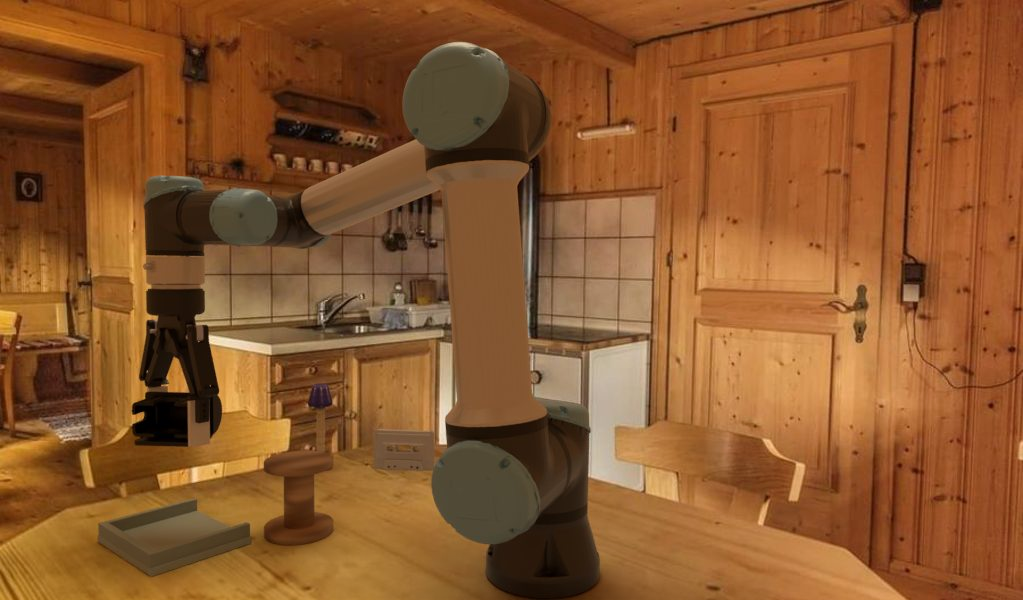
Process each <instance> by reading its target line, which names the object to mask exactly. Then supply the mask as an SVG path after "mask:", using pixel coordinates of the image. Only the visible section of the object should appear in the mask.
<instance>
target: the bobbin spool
mask: <svg viewBox="0 0 1023 600" xmlns="http://www.w3.org/2000/svg"><path fill="white" fill-rule="evenodd" d="M333 466H334V456H333V455H332V454H330V453H329V452H326V451H325V452H320V451H317V450H294V451H287V452H282V453H278V454H277V453H276V454H274V455H271V456H269V457H267V458H266V459H265V460H264V461H263V471H264V472H265V473H266V474H267V475H268V474H269V475H271V476H276V477H283V514H281V515H277V516H275V517H274V518H271V519H269V520H268V521H267V522H265V524H264V526H263V537H264V539H265V540H266V541H267V542H269V543H272V544H274V545H281V546H299V545H307V544H311V543H316V542H318V541H321V540H323V539H325V538H327V537H329V536H330V535H332V533H333V532H334V519H333V517H332V516H330V515H328V514H327V513H323V512H318V511H317V512H316V511H315V475H317V474H321V473H324V472H326V471H329V470H331V469H332V468H333ZM330 468H331V469H330Z"/></svg>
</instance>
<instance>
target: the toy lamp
mask: <svg viewBox="0 0 1023 600" xmlns="http://www.w3.org/2000/svg"><path fill="white" fill-rule="evenodd" d="M308 396H309V397H308V399H307V405H308V407H310V408H315V411H316V415H315V420H316V425H315V426H316V433H315V434H316V439H315V443H316V446H315V449H316V450H315V451H320V452H325V453H326V451H325V450H326V444H325V443H326V436H325V435H326V432H327V431H326V421H325V419H326V413H325V412H326V408H327V407H331V406H332V405H333V399H332V395H331V391H330V387H329V385H328V384H327V383H314V384H312V385H311V389H310V393H309V395H308ZM331 469H332V468H330V469H329V470H331Z"/></svg>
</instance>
